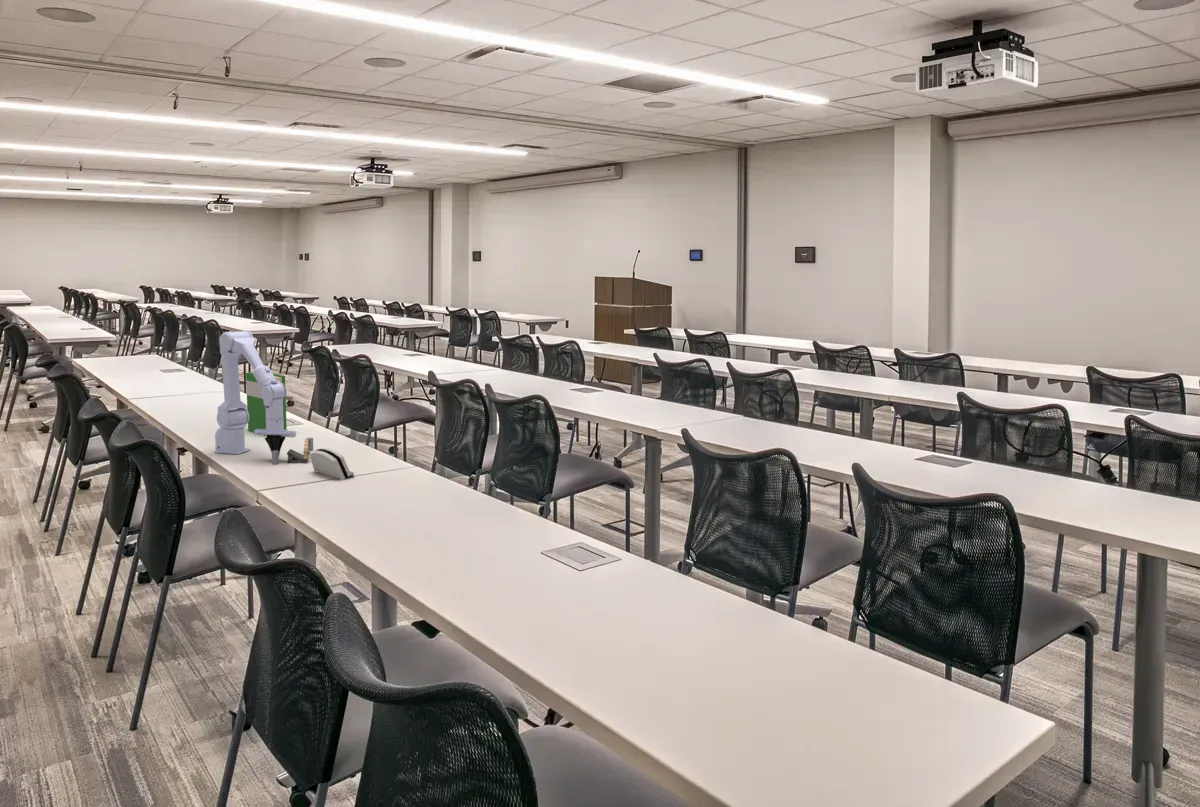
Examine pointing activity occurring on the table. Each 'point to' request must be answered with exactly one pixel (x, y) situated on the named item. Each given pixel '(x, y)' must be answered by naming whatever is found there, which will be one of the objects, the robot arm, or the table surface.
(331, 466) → the grey arched piece
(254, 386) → the hardback book
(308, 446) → the gate
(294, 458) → the wedge
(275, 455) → the pair of grey posts
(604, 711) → the table surface
